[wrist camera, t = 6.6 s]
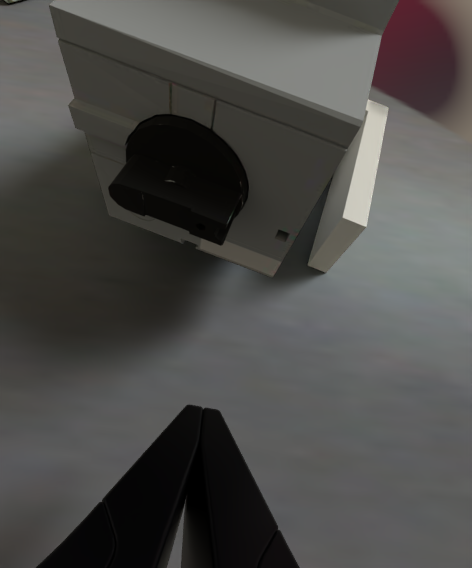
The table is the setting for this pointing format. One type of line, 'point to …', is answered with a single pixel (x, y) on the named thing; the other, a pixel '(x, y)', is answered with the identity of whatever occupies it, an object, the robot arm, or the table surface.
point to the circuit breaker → (219, 111)
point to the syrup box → (10, 0)
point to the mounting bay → (350, 191)
